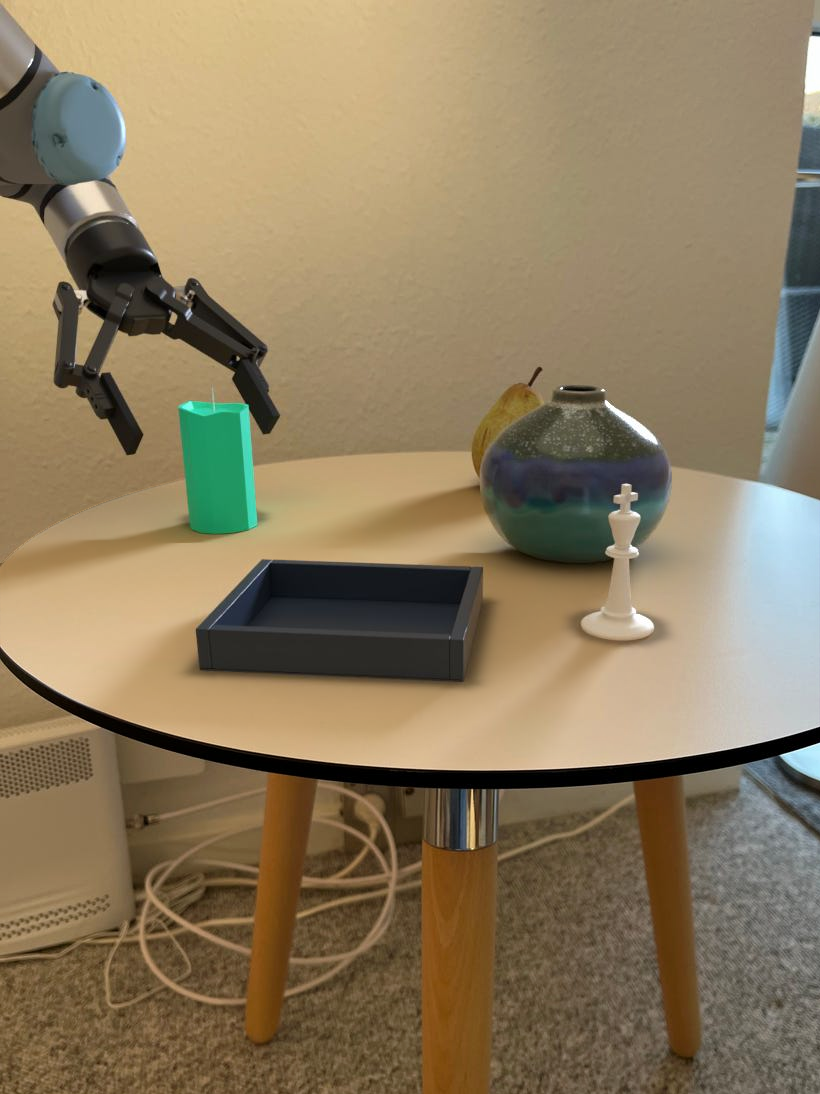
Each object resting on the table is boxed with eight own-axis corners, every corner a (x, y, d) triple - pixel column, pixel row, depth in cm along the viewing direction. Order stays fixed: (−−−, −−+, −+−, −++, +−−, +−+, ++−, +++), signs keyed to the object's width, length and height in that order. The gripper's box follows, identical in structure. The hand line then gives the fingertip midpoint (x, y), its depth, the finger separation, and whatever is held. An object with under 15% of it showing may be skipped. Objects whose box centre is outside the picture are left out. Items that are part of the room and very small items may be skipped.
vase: (705, 563, 81) (722, 394, 76) (547, 594, 74) (554, 410, 69) (590, 519, 94) (598, 371, 89) (444, 542, 86) (444, 382, 81)
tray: (199, 677, 60) (194, 628, 59) (264, 600, 72) (261, 558, 71) (463, 689, 59) (463, 639, 57) (482, 608, 71) (483, 566, 70)
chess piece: (563, 630, 67) (570, 482, 64) (617, 615, 70) (626, 472, 66) (616, 653, 64) (626, 498, 60) (670, 636, 67) (683, 487, 63)
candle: (174, 527, 90) (160, 388, 85) (224, 512, 95) (212, 380, 90) (224, 537, 87) (211, 395, 82) (272, 522, 92) (263, 386, 87)
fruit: (463, 493, 102) (463, 371, 98) (482, 474, 111) (484, 361, 106) (548, 499, 101) (552, 375, 96) (561, 479, 109) (566, 364, 104)
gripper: (210, 274, 104) (306, 441, 100) (-44, 281, 88) (59, 482, 84) (234, 218, 99) (337, 392, 95) (-31, 214, 82) (79, 425, 78)
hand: (207, 435), depth 89 cm, fingers open, 13 cm apart
